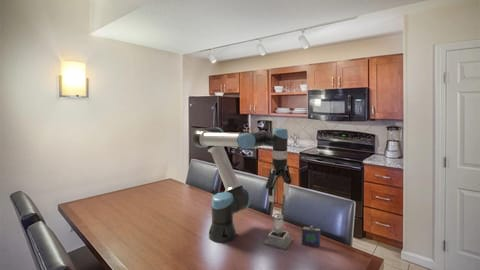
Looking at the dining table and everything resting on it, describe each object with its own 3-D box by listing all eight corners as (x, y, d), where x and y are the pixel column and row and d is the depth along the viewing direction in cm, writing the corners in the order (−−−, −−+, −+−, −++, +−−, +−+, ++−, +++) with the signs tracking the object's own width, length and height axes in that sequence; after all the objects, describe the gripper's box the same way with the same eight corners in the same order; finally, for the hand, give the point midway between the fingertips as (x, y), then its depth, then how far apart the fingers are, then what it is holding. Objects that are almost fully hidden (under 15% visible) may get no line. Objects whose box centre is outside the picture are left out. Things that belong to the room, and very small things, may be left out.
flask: (319, 245, 137) (320, 225, 136) (320, 247, 134) (320, 227, 133) (301, 243, 139) (302, 223, 138) (301, 245, 136) (302, 226, 135)
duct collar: (263, 244, 137) (263, 235, 137) (271, 235, 148) (272, 226, 148) (285, 250, 132) (285, 241, 131) (292, 240, 142) (292, 231, 142)
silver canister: (279, 244, 136) (279, 217, 135) (271, 240, 140) (271, 215, 139) (284, 240, 140) (285, 215, 139) (277, 237, 143) (277, 212, 142)
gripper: (271, 162, 124) (270, 206, 126) (298, 156, 142) (297, 194, 144) (259, 160, 129) (258, 202, 131) (286, 154, 148) (285, 191, 150)
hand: (278, 198), depth 138 cm, fingers open, 13 cm apart
